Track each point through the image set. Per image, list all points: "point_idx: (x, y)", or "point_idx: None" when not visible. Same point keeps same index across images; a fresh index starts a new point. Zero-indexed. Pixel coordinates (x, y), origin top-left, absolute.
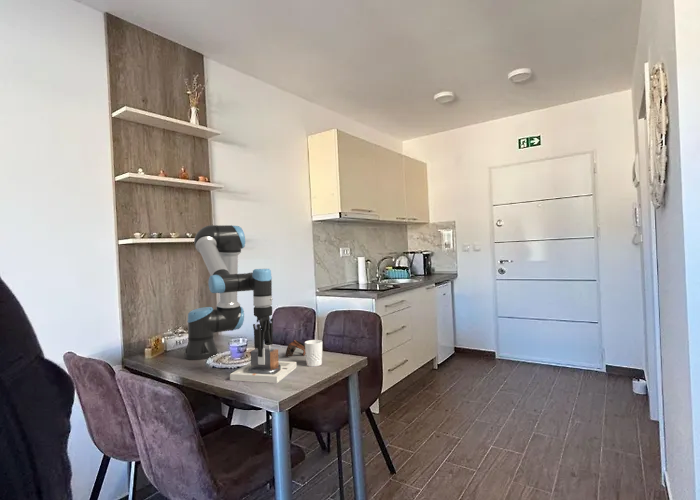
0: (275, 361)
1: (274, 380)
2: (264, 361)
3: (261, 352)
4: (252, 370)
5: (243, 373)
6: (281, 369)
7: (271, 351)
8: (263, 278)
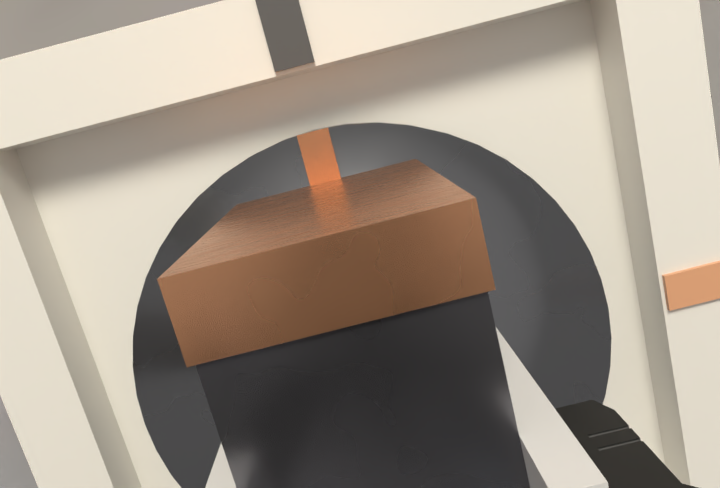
0: (348, 190)
1: None
2: None
3: (624, 454)
4: None
5: (703, 447)
6: (345, 54)
7: (430, 295)
8: None
